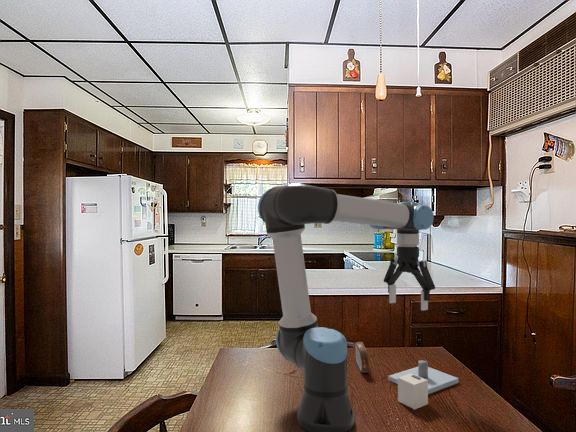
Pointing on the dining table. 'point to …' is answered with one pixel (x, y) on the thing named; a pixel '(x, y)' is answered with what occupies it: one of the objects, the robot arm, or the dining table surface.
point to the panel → (428, 377)
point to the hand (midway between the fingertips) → (407, 306)
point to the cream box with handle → (412, 391)
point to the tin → (362, 357)
